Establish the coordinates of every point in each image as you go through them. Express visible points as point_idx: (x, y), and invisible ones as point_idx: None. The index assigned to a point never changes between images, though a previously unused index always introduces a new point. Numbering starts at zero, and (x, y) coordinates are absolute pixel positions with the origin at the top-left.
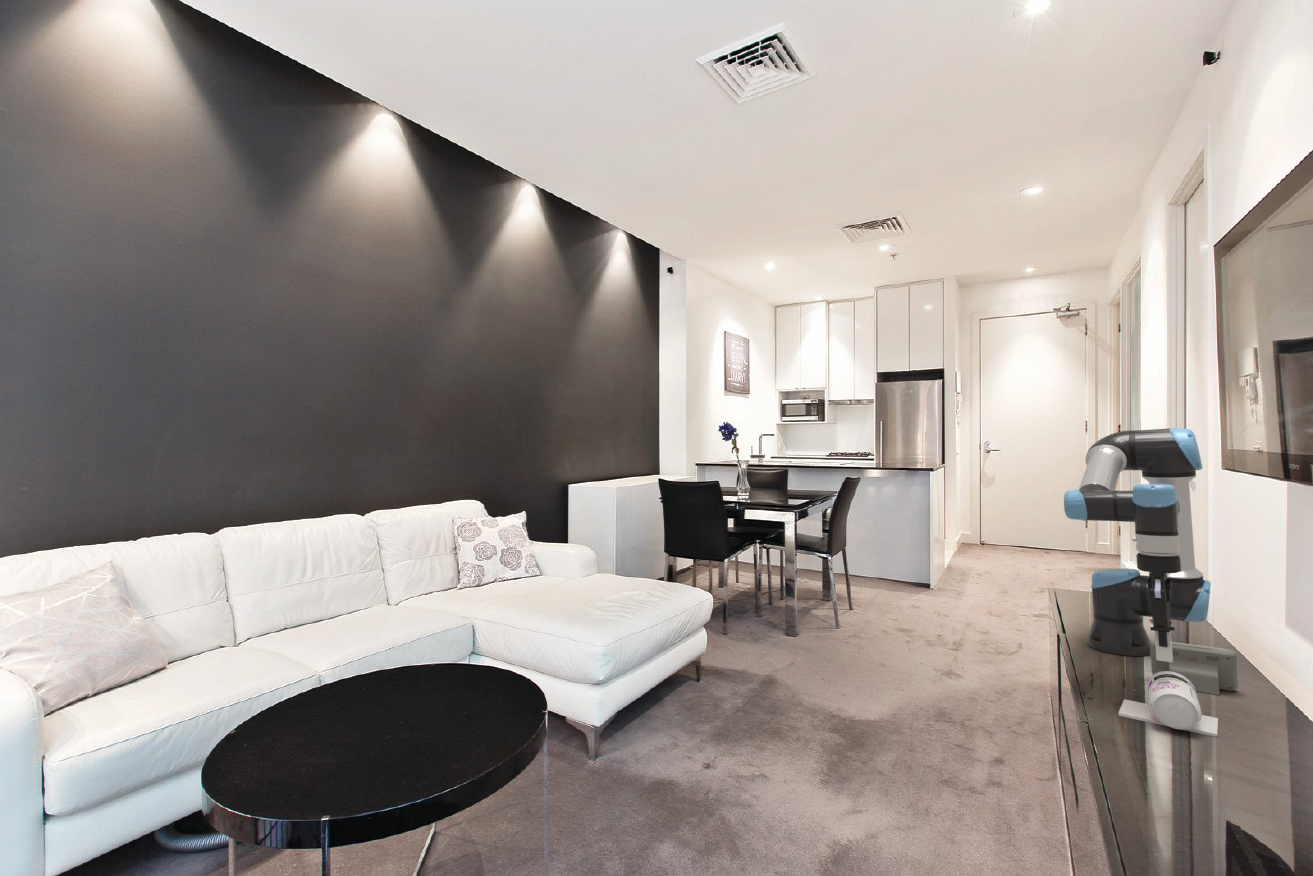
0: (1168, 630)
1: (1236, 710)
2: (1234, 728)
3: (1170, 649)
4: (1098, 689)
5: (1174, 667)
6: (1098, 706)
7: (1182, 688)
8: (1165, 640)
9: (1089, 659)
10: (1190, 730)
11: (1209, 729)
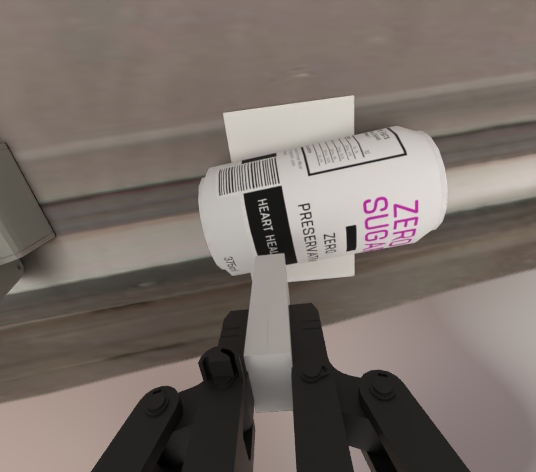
0: (391, 378)
1: (93, 89)
2: (249, 72)
3: (285, 288)
4: (210, 329)
5: (2, 252)
6: (320, 307)
7: (380, 188)
8: (321, 333)
9: (23, 378)
10: None
11: (329, 115)
